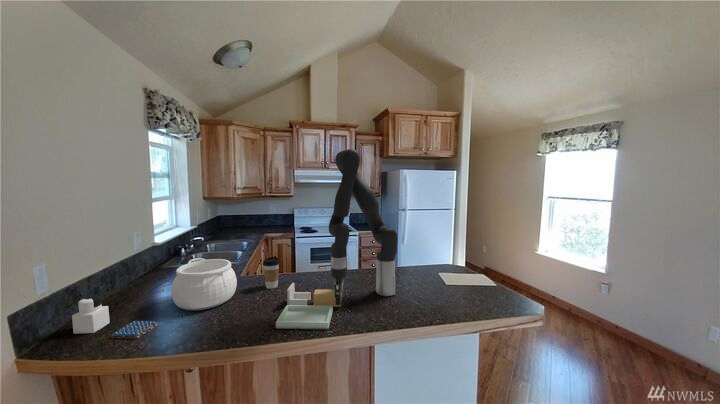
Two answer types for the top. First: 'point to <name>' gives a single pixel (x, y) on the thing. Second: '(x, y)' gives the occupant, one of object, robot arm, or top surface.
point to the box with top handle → (325, 298)
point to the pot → (203, 284)
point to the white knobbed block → (90, 315)
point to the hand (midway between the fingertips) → (339, 301)
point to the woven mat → (134, 329)
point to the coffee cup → (271, 272)
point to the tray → (305, 317)
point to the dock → (297, 296)
